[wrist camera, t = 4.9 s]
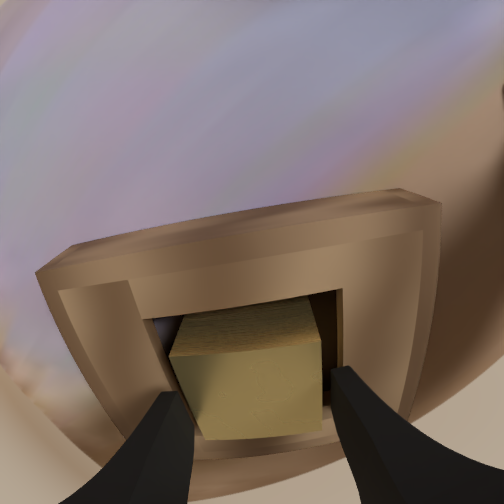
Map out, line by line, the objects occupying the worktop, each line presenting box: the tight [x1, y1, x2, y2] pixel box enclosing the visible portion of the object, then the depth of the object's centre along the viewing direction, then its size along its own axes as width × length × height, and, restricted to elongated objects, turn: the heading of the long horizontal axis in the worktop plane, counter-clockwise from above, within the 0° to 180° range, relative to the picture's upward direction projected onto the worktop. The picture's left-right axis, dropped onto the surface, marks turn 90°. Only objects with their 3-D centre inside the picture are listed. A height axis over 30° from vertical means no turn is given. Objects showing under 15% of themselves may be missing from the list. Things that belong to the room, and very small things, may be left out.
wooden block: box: [169, 295, 322, 440], centre depth 11 cm, size 4×4×4 cm
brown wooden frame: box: [35, 188, 442, 460], centre depth 12 cm, size 14×11×3 cm
